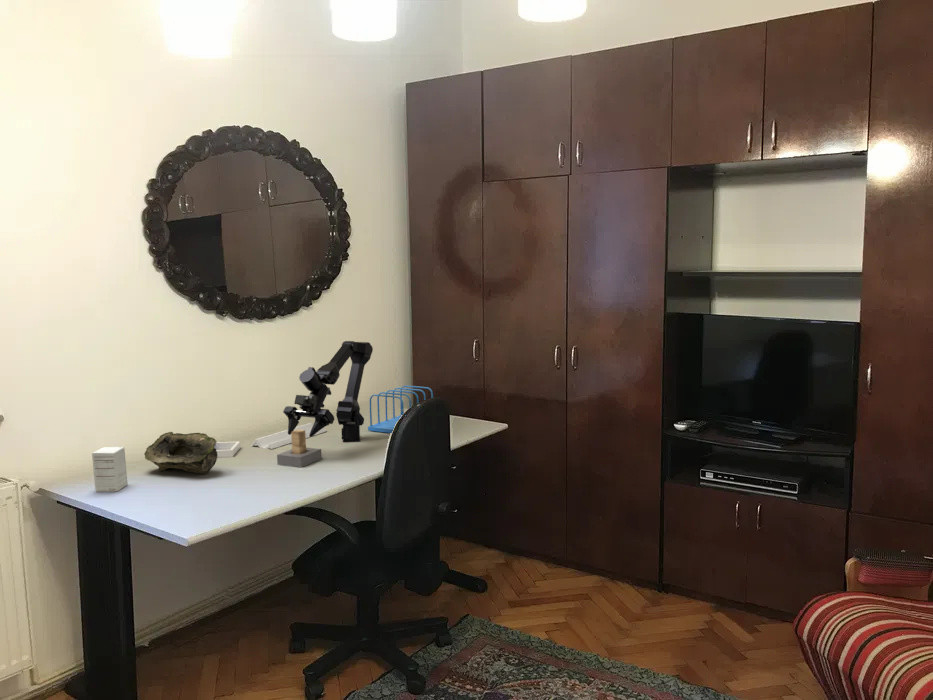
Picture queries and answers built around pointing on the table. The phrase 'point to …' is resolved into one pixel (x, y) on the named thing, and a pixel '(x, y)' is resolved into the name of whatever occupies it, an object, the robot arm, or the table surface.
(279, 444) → the crown molding
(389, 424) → the file sorter
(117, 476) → the supplement box
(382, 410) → the table surface
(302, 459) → the end cap
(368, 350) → the robot arm
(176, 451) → the hollow geode rock
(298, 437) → the tan wooden block
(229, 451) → the tray
